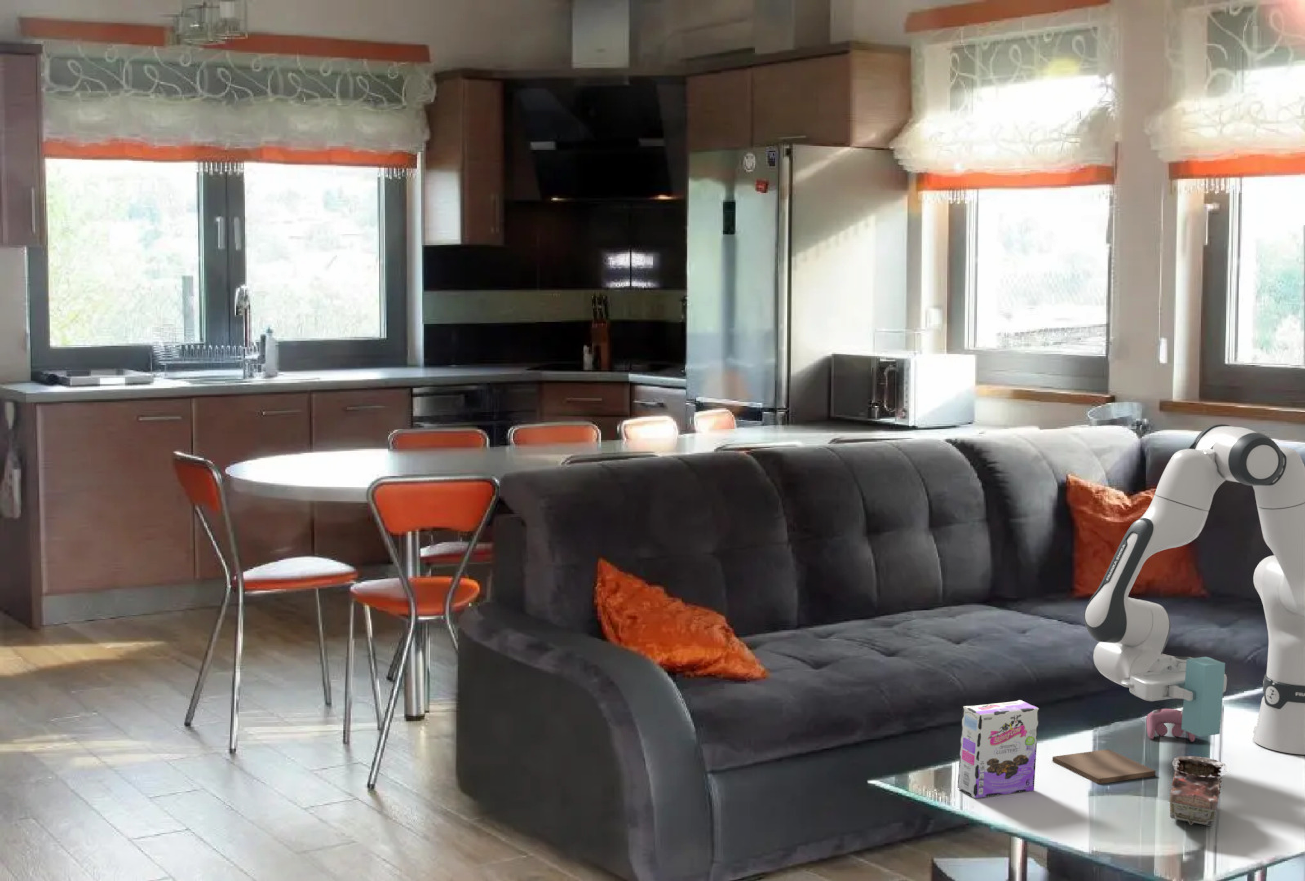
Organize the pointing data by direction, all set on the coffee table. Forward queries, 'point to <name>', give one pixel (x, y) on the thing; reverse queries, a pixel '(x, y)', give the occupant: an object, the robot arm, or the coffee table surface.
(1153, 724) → the video game controller
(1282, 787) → the coffee table surface
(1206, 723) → the teal block
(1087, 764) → the walnut board
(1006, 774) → the candy box
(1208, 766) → the decorative box
